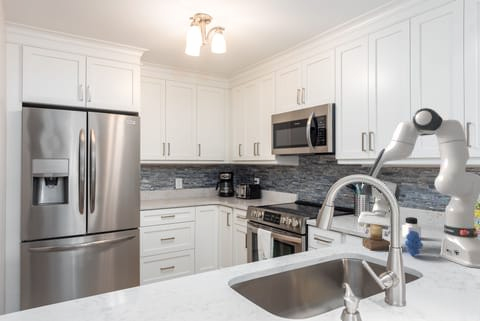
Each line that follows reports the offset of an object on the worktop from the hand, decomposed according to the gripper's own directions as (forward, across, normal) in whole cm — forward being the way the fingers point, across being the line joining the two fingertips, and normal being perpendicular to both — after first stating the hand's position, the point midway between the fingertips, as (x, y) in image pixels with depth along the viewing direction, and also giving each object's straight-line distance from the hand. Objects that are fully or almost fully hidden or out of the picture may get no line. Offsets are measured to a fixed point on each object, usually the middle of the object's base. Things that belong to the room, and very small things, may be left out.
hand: (376, 234), depth 158 cm
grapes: (+8, +18, +2) cm, 20 cm away
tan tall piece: (+4, 0, +6) cm, 7 cm away
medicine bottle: (-21, +10, +32) cm, 39 cm away
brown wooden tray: (+4, 0, +5) cm, 7 cm away
